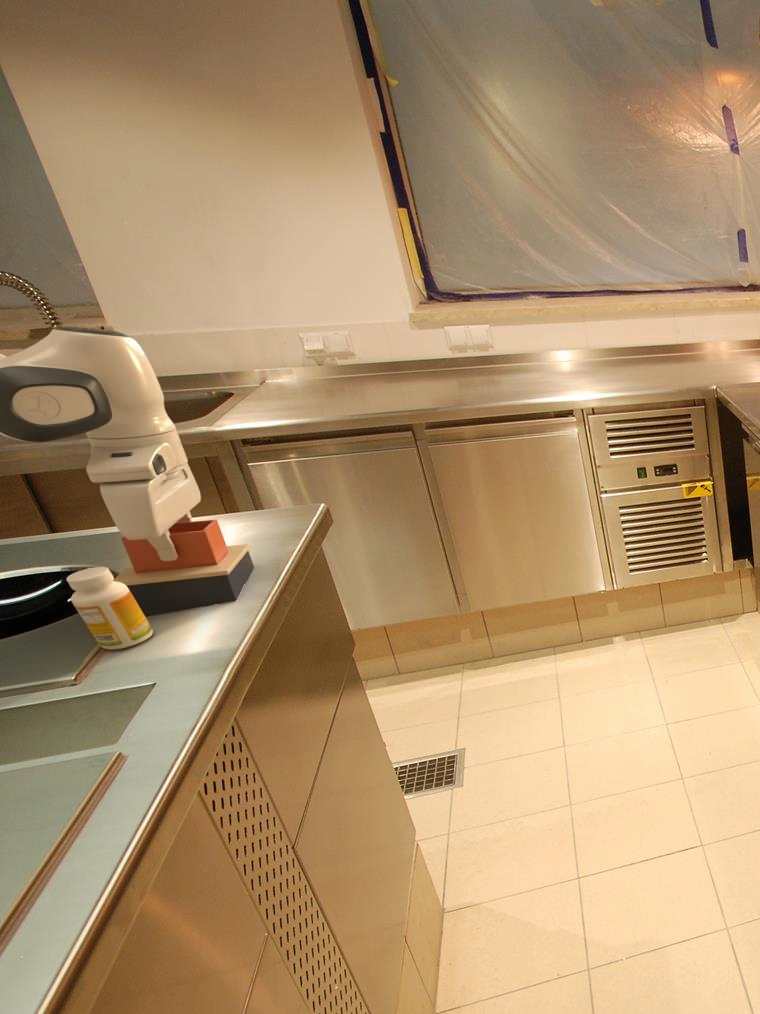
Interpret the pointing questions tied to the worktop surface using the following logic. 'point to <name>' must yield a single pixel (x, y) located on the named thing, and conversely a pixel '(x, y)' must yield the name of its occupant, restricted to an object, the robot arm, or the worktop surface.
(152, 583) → the slate storage box
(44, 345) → the robot arm
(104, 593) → the supplement bottle
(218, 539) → the terracotta tub
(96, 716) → the worktop surface
